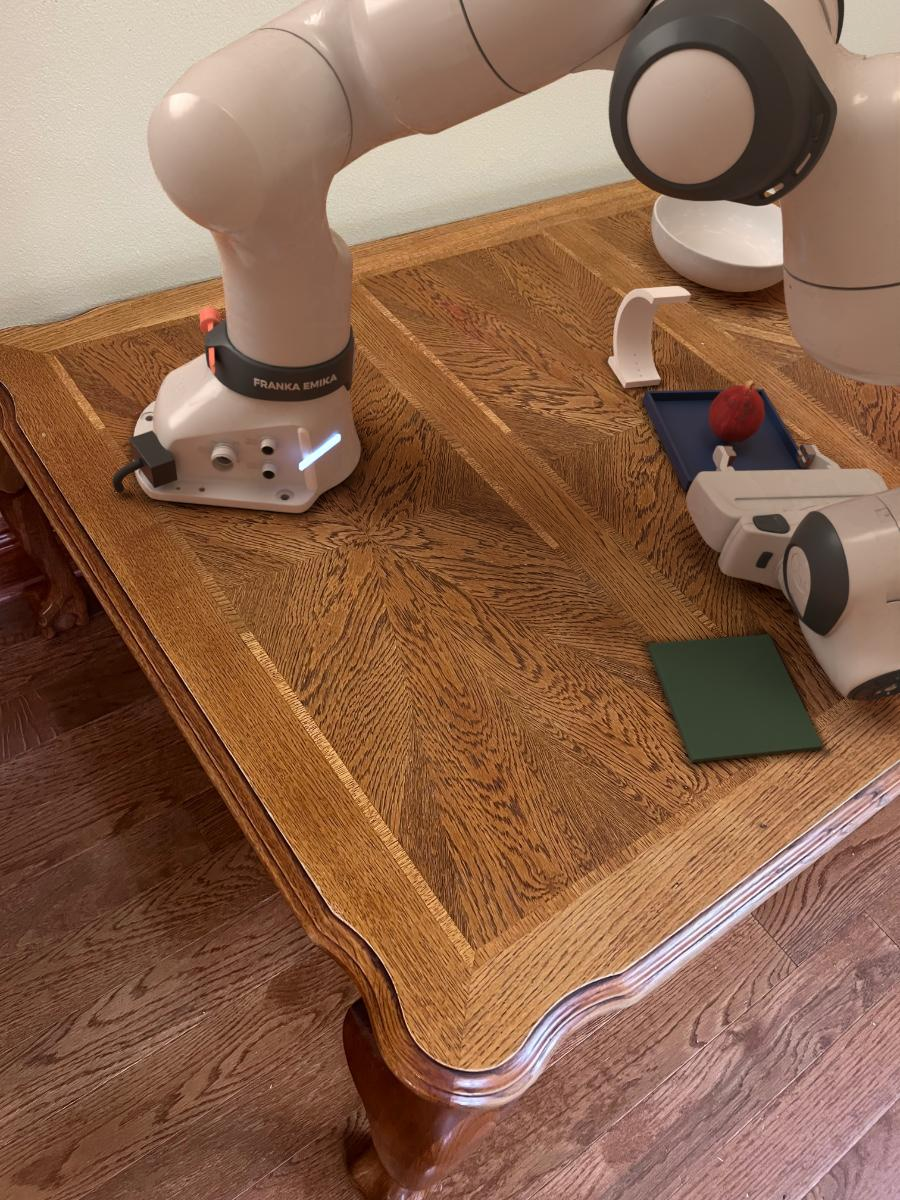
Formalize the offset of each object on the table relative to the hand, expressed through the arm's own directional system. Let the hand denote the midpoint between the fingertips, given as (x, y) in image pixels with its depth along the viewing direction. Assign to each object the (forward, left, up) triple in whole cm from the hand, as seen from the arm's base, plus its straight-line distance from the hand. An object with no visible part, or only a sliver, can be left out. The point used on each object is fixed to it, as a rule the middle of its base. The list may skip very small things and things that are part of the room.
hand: (763, 449), depth 97 cm
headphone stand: (-7, +20, -5) cm, 22 cm away
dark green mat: (-12, -26, -5) cm, 29 cm away
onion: (0, +7, -5) cm, 9 cm away
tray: (0, +7, -5) cm, 9 cm away
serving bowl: (+12, +42, -5) cm, 44 cm away
